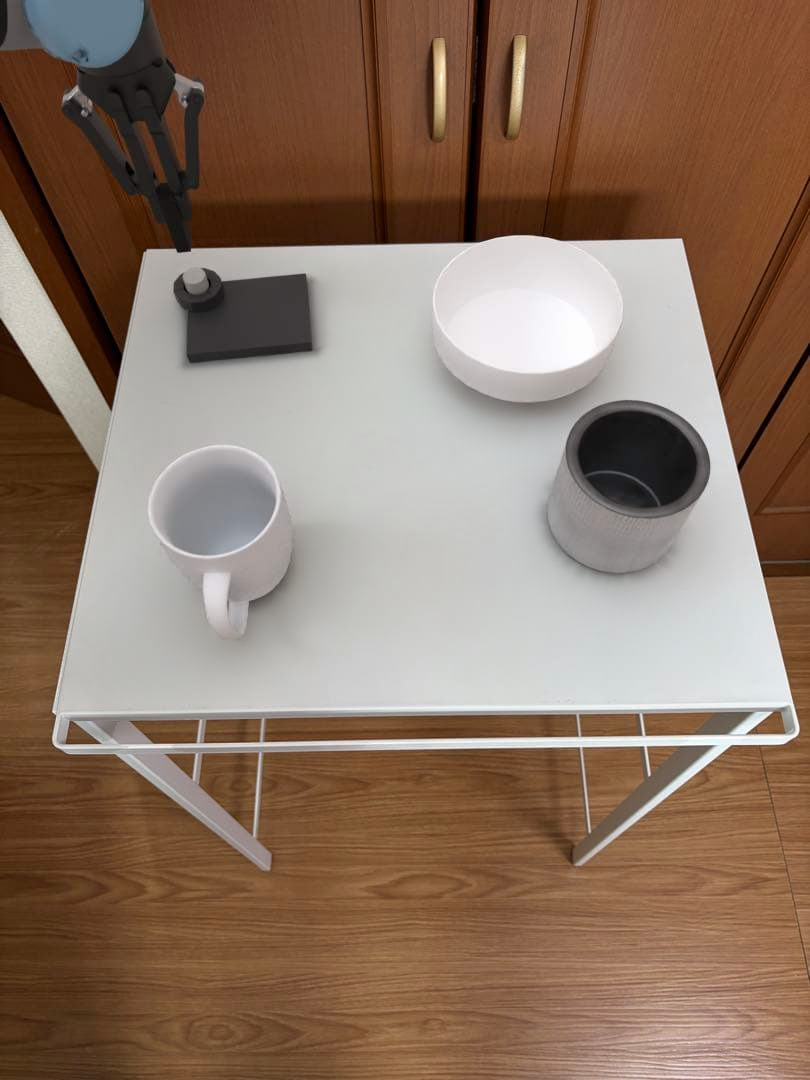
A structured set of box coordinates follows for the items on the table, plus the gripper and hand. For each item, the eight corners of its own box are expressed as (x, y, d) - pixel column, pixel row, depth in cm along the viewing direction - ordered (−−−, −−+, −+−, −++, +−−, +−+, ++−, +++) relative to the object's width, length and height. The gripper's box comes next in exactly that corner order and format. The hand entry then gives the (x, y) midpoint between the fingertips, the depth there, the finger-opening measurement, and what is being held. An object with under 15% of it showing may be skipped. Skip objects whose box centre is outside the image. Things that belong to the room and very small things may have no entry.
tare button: (186, 296, 86) (182, 284, 84) (186, 280, 87) (182, 268, 85) (209, 294, 86) (205, 282, 84) (209, 278, 87) (205, 266, 86)
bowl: (606, 435, 79) (625, 382, 71) (421, 418, 80) (421, 365, 73) (605, 300, 88) (622, 241, 80) (439, 287, 89) (441, 228, 82)
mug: (301, 658, 68) (277, 601, 56) (180, 664, 68) (131, 608, 56) (304, 516, 75) (284, 439, 63) (195, 521, 75) (154, 445, 63)
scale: (178, 364, 84) (170, 345, 82) (181, 289, 90) (173, 270, 87) (312, 350, 85) (309, 331, 82) (307, 277, 91) (303, 257, 88)
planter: (533, 558, 72) (551, 498, 62) (558, 455, 78) (579, 384, 68) (664, 591, 70) (704, 534, 60) (680, 483, 76) (719, 415, 66)
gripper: (183, -26, 62) (243, 214, 83) (26, -13, 62) (126, 226, 83) (181, 23, 59) (244, 261, 80) (14, 38, 58) (122, 274, 79)
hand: (184, 243), depth 81 cm, fingers closed
